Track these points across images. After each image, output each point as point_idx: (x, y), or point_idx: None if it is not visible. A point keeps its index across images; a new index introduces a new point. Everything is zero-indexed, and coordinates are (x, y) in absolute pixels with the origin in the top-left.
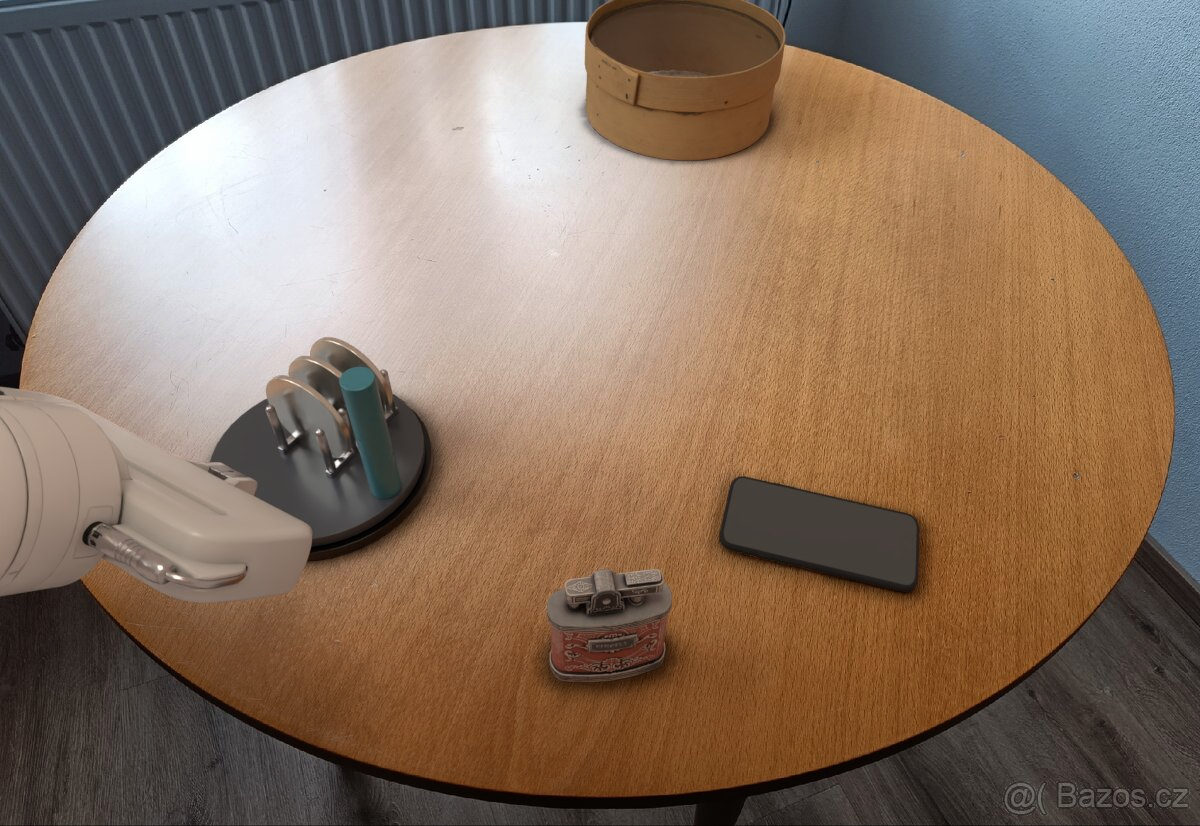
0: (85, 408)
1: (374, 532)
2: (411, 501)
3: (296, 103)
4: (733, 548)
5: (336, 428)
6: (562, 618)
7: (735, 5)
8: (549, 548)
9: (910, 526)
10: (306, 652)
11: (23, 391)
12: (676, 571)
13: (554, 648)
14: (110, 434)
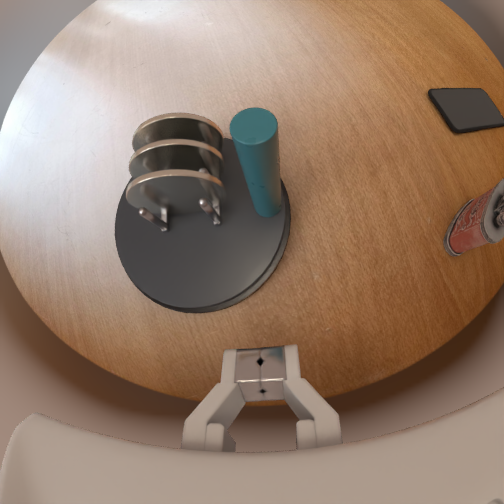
0: (49, 421)
1: (286, 242)
2: (288, 202)
3: (33, 73)
4: (461, 131)
5: (212, 188)
6: (497, 236)
7: None
8: (392, 178)
9: (485, 94)
10: (315, 349)
11: (8, 471)
12: (450, 156)
13: (469, 248)
14: (133, 499)
